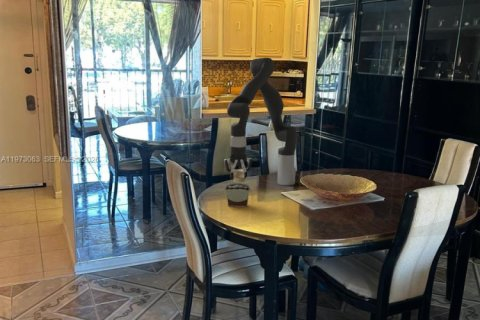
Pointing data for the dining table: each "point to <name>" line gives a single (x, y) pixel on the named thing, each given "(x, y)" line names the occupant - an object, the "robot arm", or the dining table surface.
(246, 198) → the food container
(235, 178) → the beige cube
